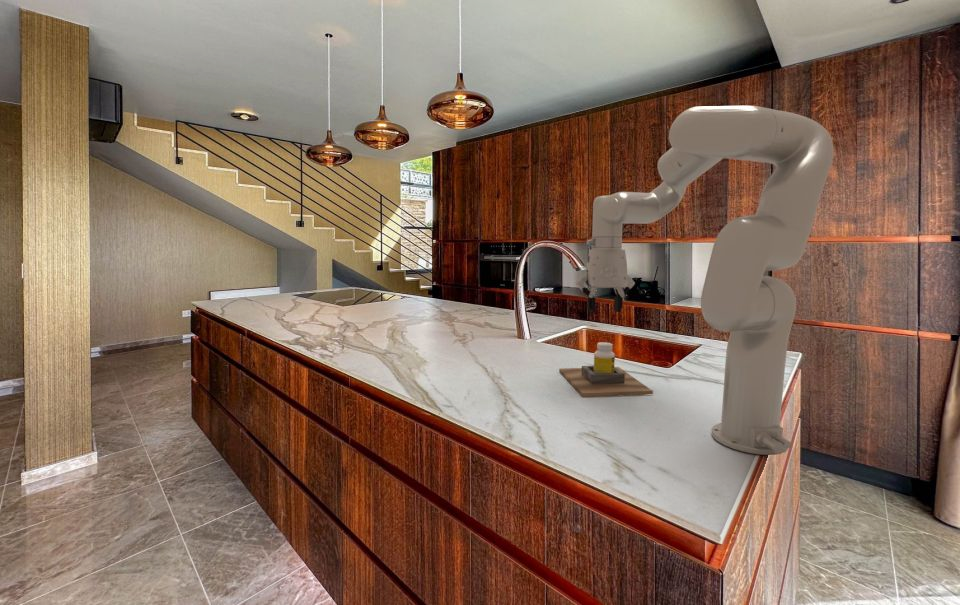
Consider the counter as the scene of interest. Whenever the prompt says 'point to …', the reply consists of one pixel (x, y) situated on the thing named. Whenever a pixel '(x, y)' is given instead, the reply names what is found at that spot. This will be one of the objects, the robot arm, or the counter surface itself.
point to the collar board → (603, 382)
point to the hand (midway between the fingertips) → (604, 311)
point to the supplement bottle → (604, 358)
